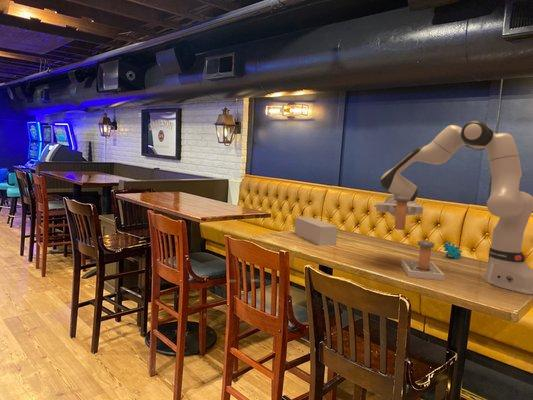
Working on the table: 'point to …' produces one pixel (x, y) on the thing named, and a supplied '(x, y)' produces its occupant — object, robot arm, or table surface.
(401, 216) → the brown pin with head
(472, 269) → the table surface
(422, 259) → the grey capped peg
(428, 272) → the housing
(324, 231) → the grey rectangular brick
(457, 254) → the gear
